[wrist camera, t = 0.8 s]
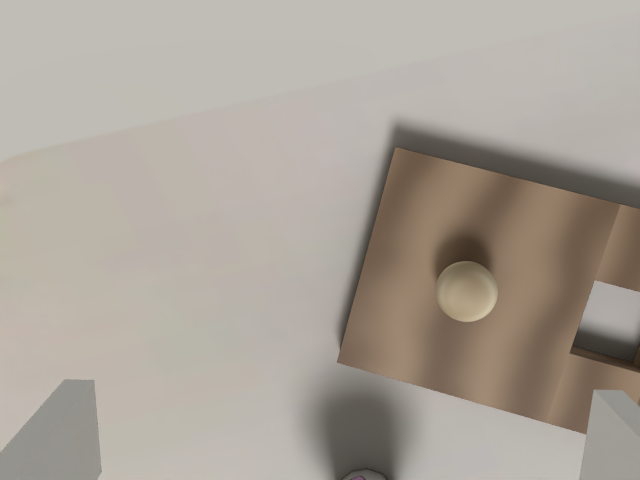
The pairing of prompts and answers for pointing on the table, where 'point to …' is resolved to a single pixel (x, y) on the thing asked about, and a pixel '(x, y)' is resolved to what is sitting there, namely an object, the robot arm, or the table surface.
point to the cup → (364, 475)
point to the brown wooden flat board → (512, 282)
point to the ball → (466, 291)
